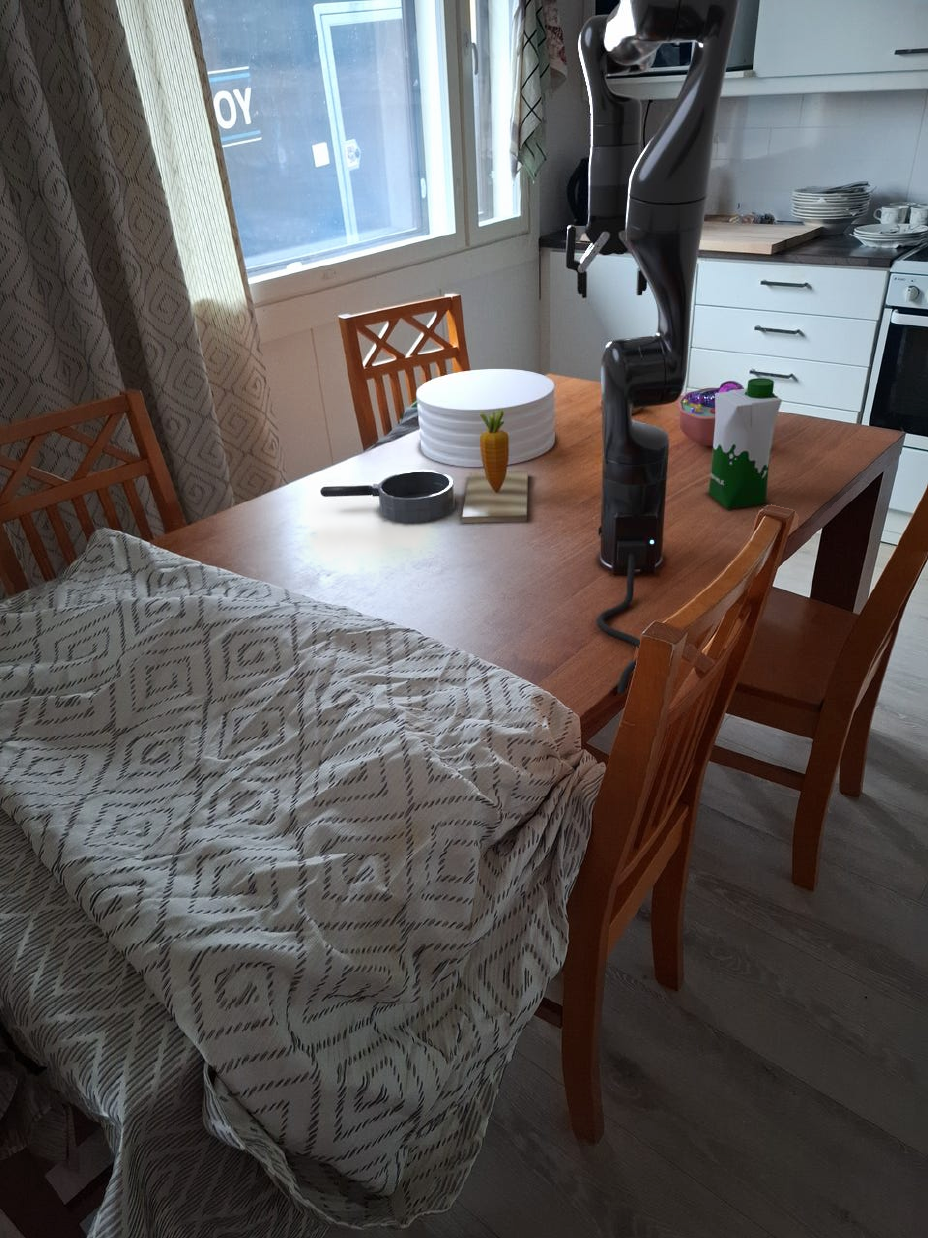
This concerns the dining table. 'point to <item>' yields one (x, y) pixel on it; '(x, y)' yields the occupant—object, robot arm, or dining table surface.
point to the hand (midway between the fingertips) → (611, 295)
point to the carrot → (494, 450)
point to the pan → (416, 496)
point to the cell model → (701, 412)
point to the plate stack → (465, 395)
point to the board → (496, 499)
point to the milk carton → (743, 443)
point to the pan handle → (350, 490)
